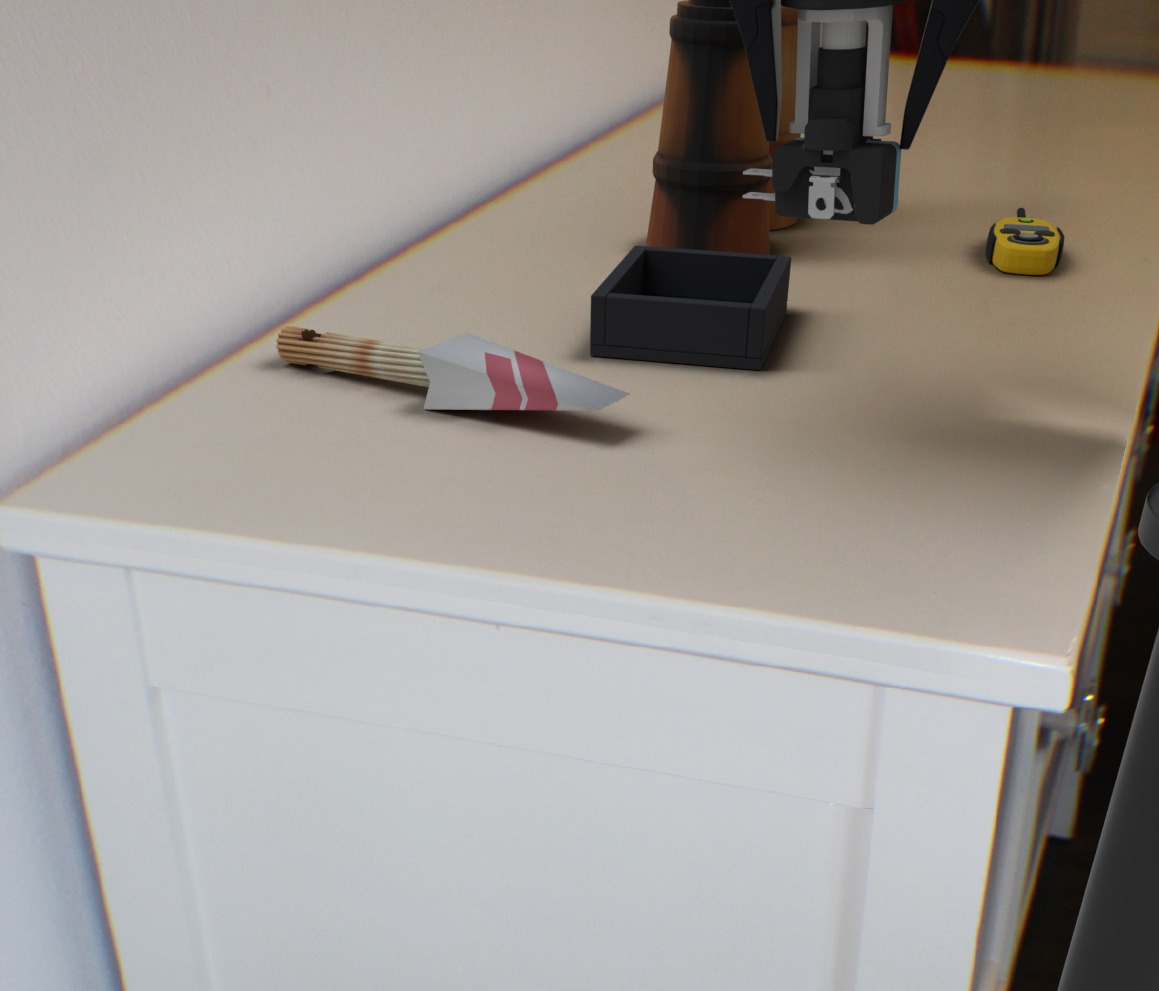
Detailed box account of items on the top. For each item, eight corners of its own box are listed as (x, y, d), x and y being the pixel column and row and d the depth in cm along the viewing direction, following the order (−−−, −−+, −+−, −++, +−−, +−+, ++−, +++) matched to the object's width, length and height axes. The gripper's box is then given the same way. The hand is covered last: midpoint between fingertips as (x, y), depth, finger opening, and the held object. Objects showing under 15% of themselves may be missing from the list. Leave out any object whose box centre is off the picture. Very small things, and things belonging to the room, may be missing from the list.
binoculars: (755, 270, 90) (785, -113, 78) (630, 259, 92) (641, -117, 80) (807, 210, 104) (839, -123, 93) (697, 201, 106) (715, -126, 94)
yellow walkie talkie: (990, 241, 89) (988, 190, 101) (984, 273, 90) (984, 220, 102) (1070, 246, 89) (1059, 195, 100) (1063, 279, 90) (1053, 224, 101)
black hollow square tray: (786, 313, 83) (791, 256, 81) (760, 370, 74) (765, 308, 72) (632, 301, 84) (634, 245, 82) (589, 356, 76) (590, 295, 74)
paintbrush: (590, 380, 62) (258, 325, 72) (591, 442, 64) (267, 380, 73) (636, 358, 65) (311, 307, 74) (637, 418, 67) (318, 361, 76)
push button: (719, 223, 59) (719, -67, 53) (772, 195, 62) (778, -79, 56) (873, 234, 56) (892, -72, 50) (919, 204, 59) (943, -84, 53)
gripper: (1158, -347, 53) (1067, 123, 62) (661, -347, 56) (644, 102, 65) (1197, -381, 44) (1084, 173, 53) (605, -378, 47) (595, 145, 56)
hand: (838, 144), depth 57 cm, fingers closed on push button, 5 cm apart
